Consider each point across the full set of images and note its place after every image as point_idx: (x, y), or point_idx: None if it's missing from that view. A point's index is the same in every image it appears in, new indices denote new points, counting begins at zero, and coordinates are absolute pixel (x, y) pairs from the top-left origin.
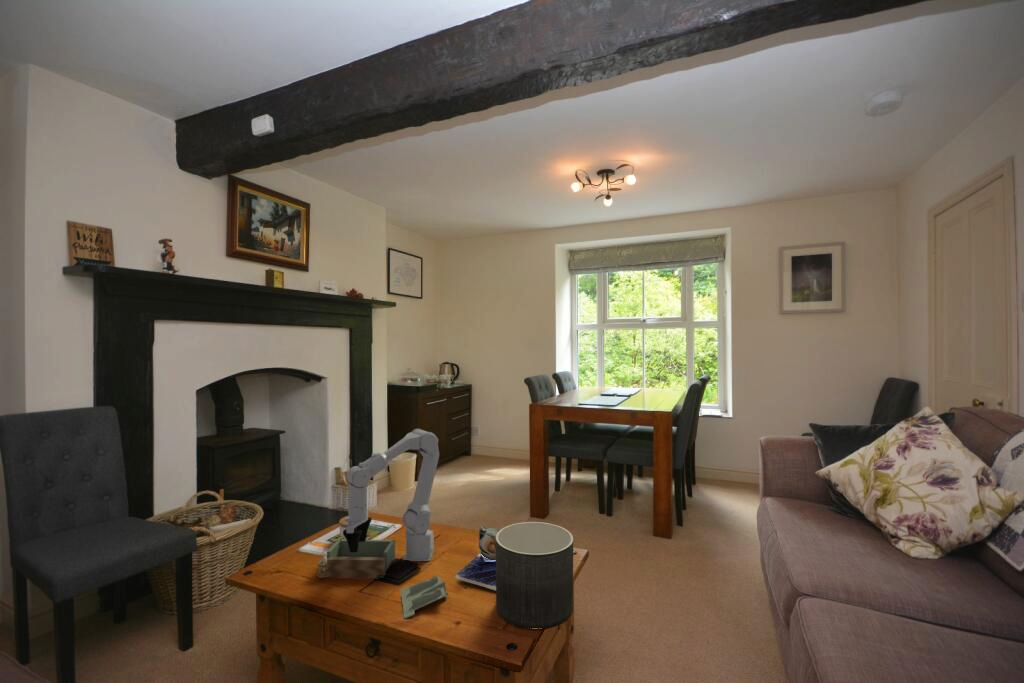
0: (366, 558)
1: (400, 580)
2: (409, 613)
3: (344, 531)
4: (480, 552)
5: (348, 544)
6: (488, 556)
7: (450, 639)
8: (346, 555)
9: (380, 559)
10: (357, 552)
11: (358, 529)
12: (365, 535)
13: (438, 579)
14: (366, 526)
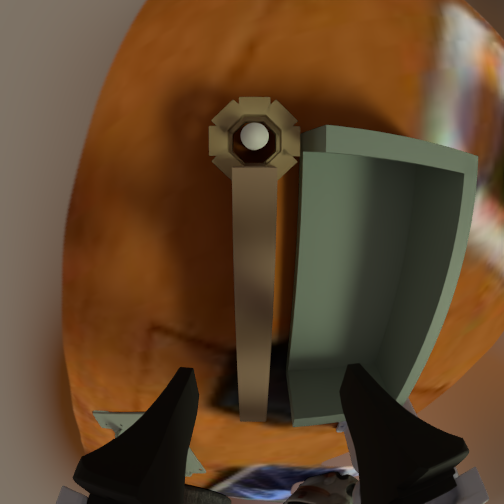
0: (255, 373)
1: (233, 405)
2: (102, 421)
3: (85, 485)
4: (330, 480)
5: (152, 404)
6: (289, 498)
7: (86, 443)
8: (415, 194)
9: (247, 413)
10: (415, 251)
11: (377, 430)
12: (349, 423)
13: (197, 470)
14: (363, 476)
